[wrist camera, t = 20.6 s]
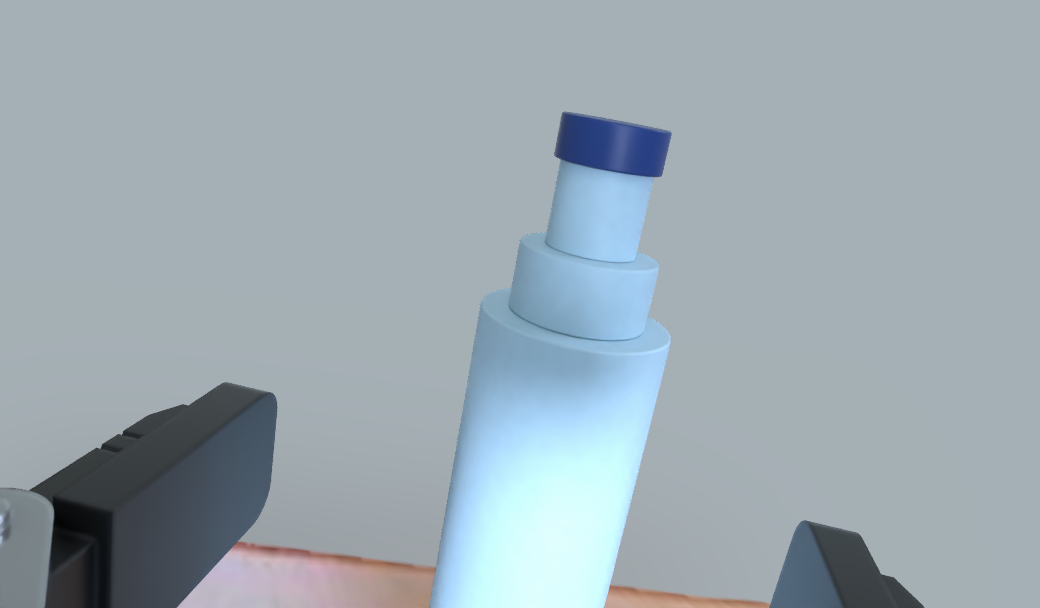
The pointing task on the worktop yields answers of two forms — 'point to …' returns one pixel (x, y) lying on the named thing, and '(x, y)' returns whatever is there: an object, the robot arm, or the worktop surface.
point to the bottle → (560, 389)
